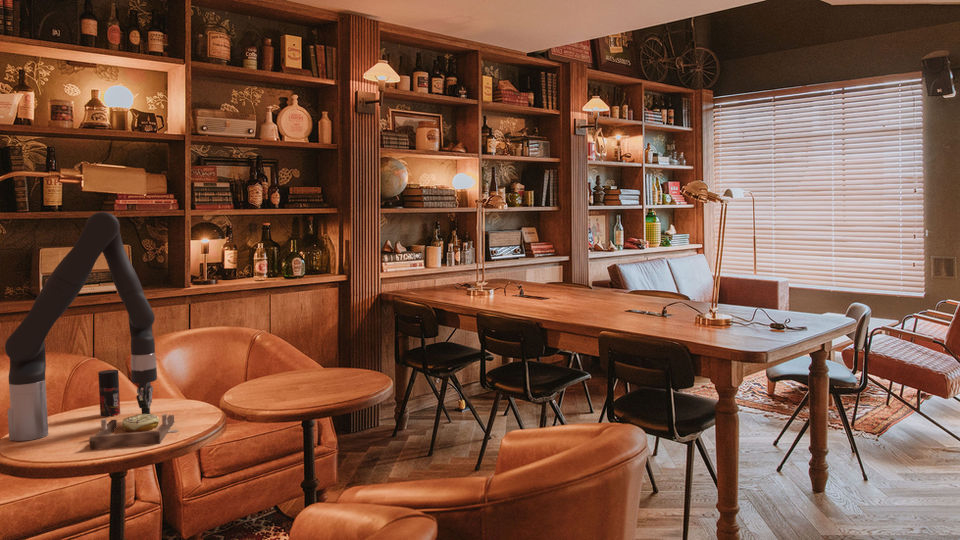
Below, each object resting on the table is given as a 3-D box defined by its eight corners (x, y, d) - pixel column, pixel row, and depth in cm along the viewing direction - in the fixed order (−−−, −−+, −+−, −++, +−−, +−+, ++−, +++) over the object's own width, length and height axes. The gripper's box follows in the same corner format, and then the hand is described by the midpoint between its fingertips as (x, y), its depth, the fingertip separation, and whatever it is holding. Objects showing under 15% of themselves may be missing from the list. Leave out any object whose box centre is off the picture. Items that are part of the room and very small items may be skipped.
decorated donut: (133, 435, 203) (132, 423, 202) (116, 429, 209) (115, 418, 208) (165, 426, 211) (165, 415, 211) (148, 421, 217) (147, 410, 217)
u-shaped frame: (78, 450, 188) (77, 431, 188) (101, 428, 210) (100, 411, 209) (171, 442, 195) (170, 424, 194) (184, 421, 216) (183, 405, 216)
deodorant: (107, 412, 229) (105, 369, 228) (123, 412, 228) (121, 369, 227) (96, 417, 223) (94, 373, 222) (113, 417, 222) (111, 373, 222)
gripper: (135, 363, 221) (138, 414, 222) (126, 372, 209) (128, 425, 210) (160, 362, 223) (162, 412, 224) (152, 370, 211) (154, 423, 212)
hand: (146, 418), depth 217 cm, fingers closed
